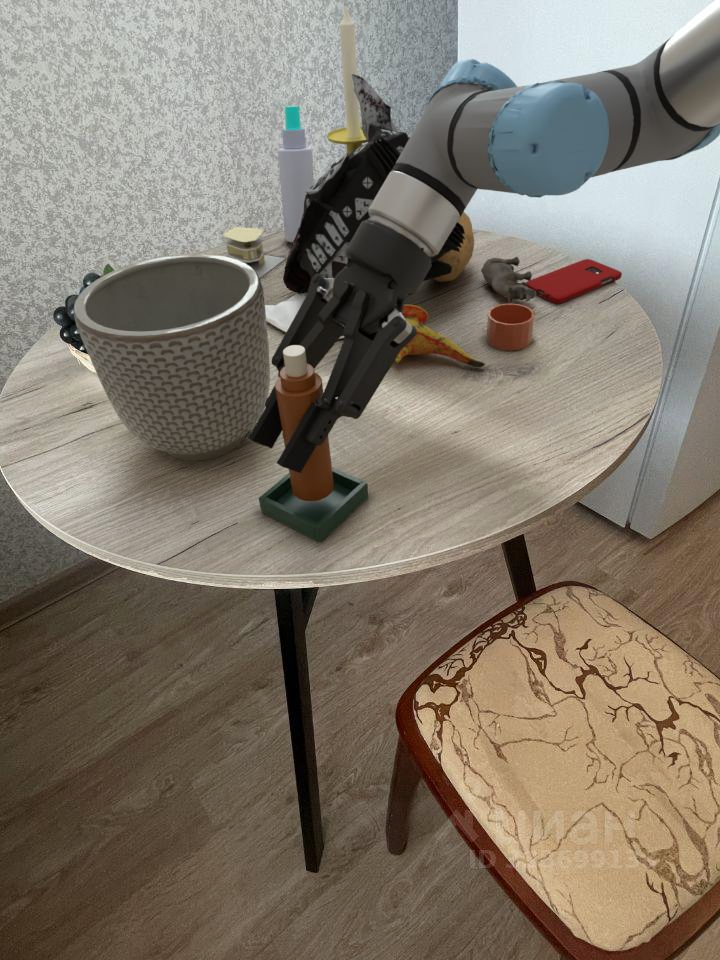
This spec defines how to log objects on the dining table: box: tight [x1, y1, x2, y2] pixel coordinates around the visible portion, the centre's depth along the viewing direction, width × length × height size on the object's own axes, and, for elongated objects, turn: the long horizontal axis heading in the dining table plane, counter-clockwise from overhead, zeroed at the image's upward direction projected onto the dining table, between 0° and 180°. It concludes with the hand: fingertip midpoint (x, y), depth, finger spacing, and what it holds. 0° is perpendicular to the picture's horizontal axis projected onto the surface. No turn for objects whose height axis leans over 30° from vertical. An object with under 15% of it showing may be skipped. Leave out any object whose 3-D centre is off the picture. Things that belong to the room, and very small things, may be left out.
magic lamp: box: [394, 304, 486, 368], centre depth 93 cm, size 7×18×11 cm
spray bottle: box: [277, 105, 315, 244], centre depth 124 cm, size 6×6×22 cm
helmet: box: [282, 74, 465, 294], centre depth 103 cm, size 26×26×30 cm
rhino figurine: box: [480, 256, 537, 304], centre depth 108 cm, size 4×14×6 cm
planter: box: [73, 253, 271, 462], centre depth 79 cm, size 20×20×19 cm
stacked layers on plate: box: [222, 226, 286, 279], centre depth 122 cm, size 10×9×6 cm
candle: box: [326, 2, 368, 155], centre depth 110 cm, size 10×10×38 cm
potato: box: [431, 211, 475, 283], centre depth 112 cm, size 9×16×9 cm, turn 158°
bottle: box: [274, 345, 334, 501], centre depth 68 cm, size 4×4×16 cm
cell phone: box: [524, 258, 623, 305], centre depth 110 cm, size 8×15×1 cm, turn 124°
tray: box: [258, 466, 369, 544], centre depth 74 cm, size 8×8×2 cm
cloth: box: [265, 293, 344, 340], centre depth 105 cm, size 26×14×2 cm, turn 66°
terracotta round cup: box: [486, 302, 535, 352], centre depth 97 cm, size 6×6×4 cm
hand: (274, 454), depth 67 cm, fingers closed on bottle, 4 cm apart
